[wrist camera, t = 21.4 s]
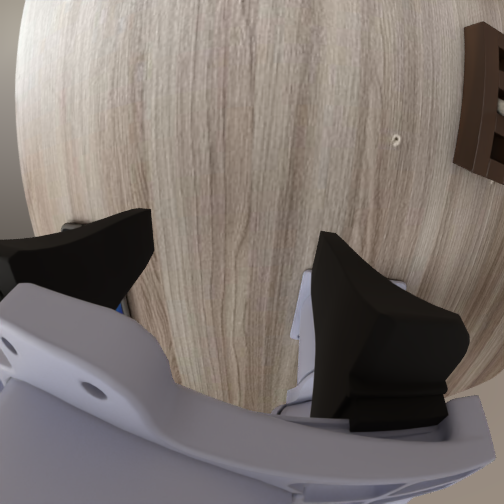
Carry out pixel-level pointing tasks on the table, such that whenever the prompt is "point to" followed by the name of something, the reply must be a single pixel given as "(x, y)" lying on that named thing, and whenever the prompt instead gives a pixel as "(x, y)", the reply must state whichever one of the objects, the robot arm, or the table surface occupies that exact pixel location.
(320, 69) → the table surface
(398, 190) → the table surface
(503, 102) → the beige thin cylinder
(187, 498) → the robot arm
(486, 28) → the pen stand
